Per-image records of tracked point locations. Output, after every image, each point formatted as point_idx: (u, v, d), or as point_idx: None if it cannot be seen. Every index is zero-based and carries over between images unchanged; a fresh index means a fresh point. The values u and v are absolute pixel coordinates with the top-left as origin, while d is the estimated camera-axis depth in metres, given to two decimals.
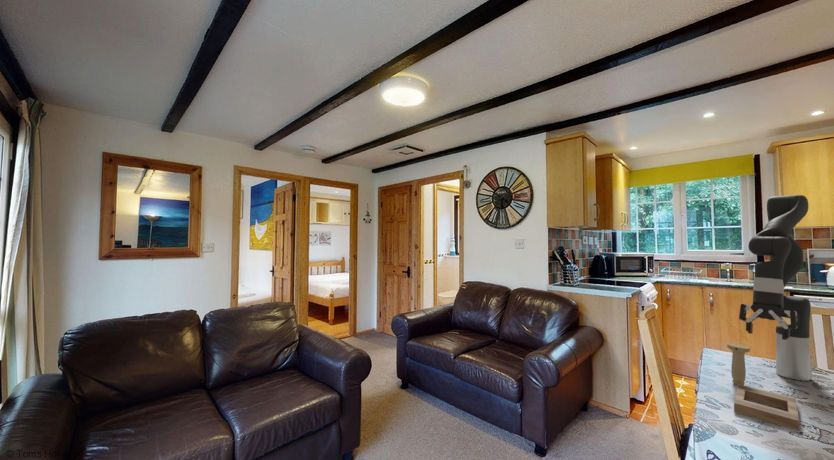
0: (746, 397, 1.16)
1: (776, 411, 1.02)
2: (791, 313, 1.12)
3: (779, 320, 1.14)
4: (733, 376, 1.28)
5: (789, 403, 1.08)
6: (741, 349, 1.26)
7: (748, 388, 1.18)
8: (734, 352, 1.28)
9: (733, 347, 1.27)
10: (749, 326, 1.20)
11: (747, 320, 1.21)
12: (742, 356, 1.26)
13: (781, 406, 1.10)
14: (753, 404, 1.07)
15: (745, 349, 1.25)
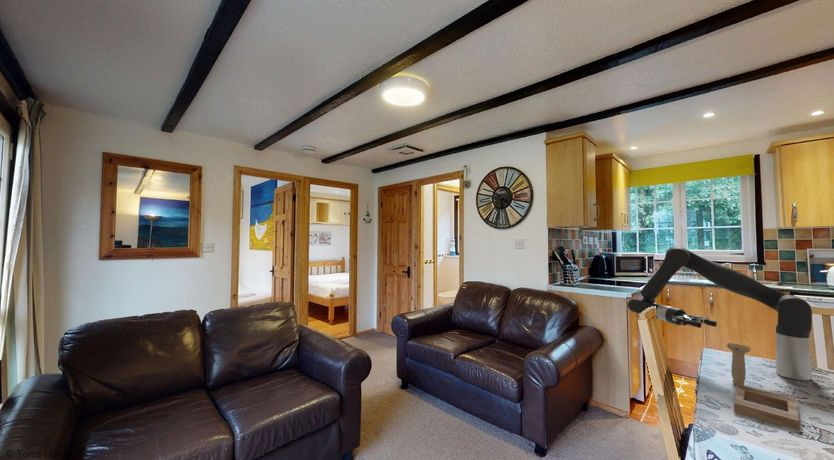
0: (746, 397, 1.16)
1: (776, 411, 1.02)
2: (675, 322, 1.46)
3: (686, 324, 1.44)
4: (733, 376, 1.28)
5: (789, 403, 1.08)
6: (741, 349, 1.26)
7: (748, 388, 1.18)
8: (734, 352, 1.28)
9: (733, 347, 1.27)
10: None
11: None
12: (742, 356, 1.26)
13: (781, 406, 1.10)
14: (753, 404, 1.07)
15: (745, 349, 1.25)
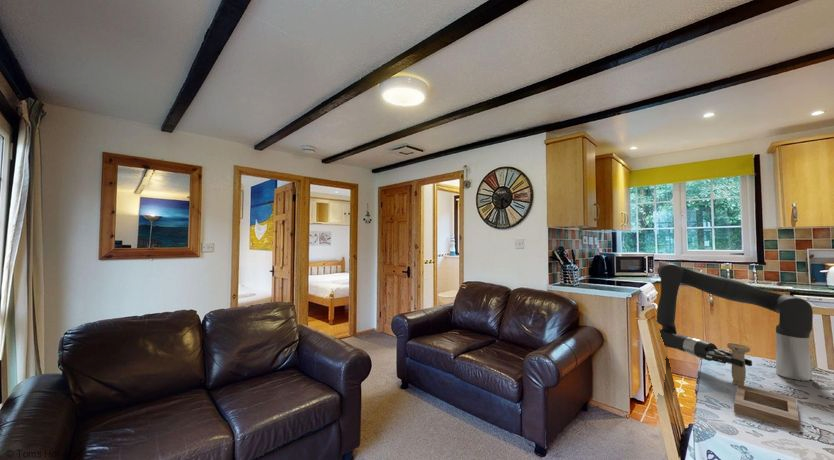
0: (746, 397, 1.16)
1: (776, 411, 1.02)
2: None
3: None
4: (733, 376, 1.28)
5: (789, 403, 1.08)
6: (741, 349, 1.26)
7: (748, 388, 1.18)
8: (734, 352, 1.28)
9: (733, 347, 1.27)
10: None
11: None
12: (742, 356, 1.26)
13: (781, 406, 1.10)
14: (753, 404, 1.07)
15: (745, 349, 1.25)
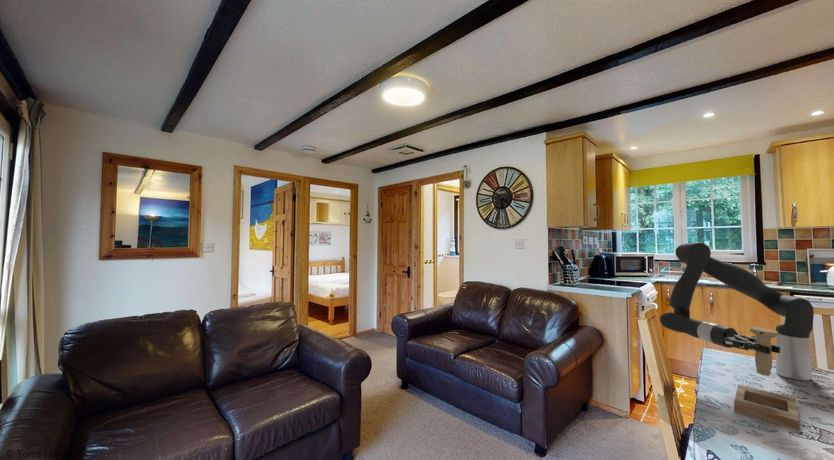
0: (746, 397, 1.16)
1: (776, 411, 1.02)
2: None
3: None
4: (757, 365, 1.10)
5: (789, 403, 1.08)
6: (767, 333, 1.08)
7: (748, 388, 1.18)
8: (759, 337, 1.10)
9: (758, 331, 1.09)
10: None
11: None
12: (769, 341, 1.08)
13: (781, 406, 1.10)
14: (753, 404, 1.07)
15: (772, 333, 1.07)
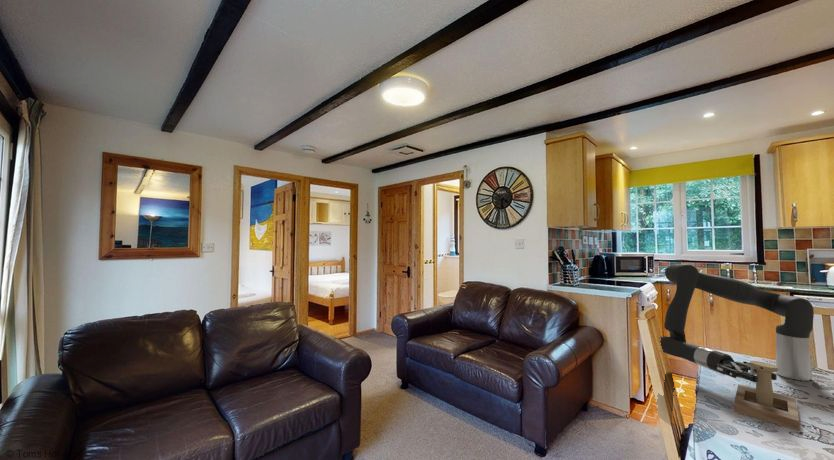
0: (746, 397, 1.16)
1: (776, 411, 1.02)
2: None
3: None
4: (758, 400, 1.10)
5: (789, 403, 1.08)
6: (767, 368, 1.07)
7: (748, 388, 1.18)
8: (759, 372, 1.10)
9: (758, 366, 1.09)
10: None
11: None
12: (769, 376, 1.08)
13: (781, 406, 1.10)
14: (753, 404, 1.07)
15: (772, 368, 1.07)
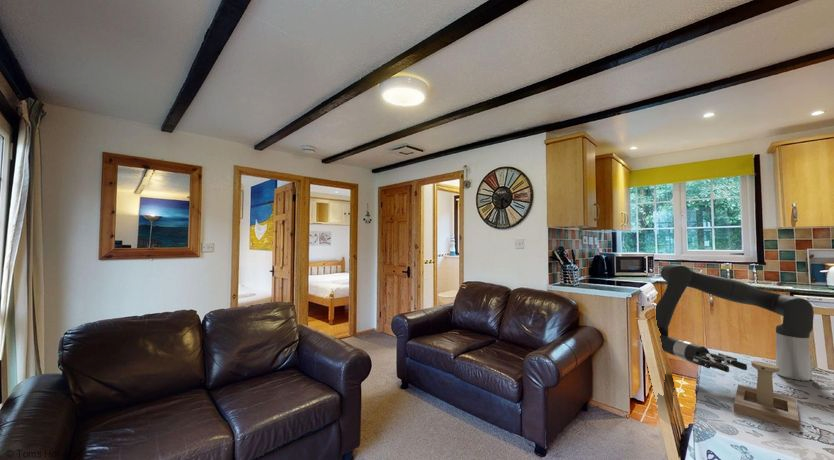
0: (746, 397, 1.16)
1: (776, 411, 1.02)
2: None
3: None
4: (758, 400, 1.10)
5: (789, 403, 1.08)
6: (769, 369, 1.07)
7: (748, 388, 1.18)
8: (760, 372, 1.10)
9: (759, 366, 1.09)
10: None
11: None
12: (770, 376, 1.08)
13: (781, 406, 1.10)
14: (753, 404, 1.07)
15: (774, 369, 1.07)
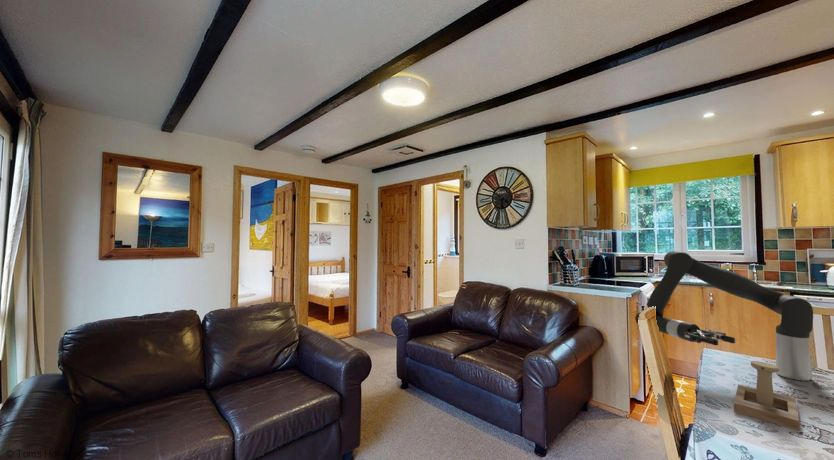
0: (746, 397, 1.16)
1: (776, 411, 1.02)
2: None
3: None
4: (758, 400, 1.10)
5: (789, 403, 1.08)
6: (768, 369, 1.07)
7: (748, 388, 1.18)
8: (760, 372, 1.10)
9: (758, 366, 1.09)
10: None
11: None
12: (769, 376, 1.08)
13: (781, 406, 1.10)
14: (753, 404, 1.07)
15: (773, 369, 1.07)
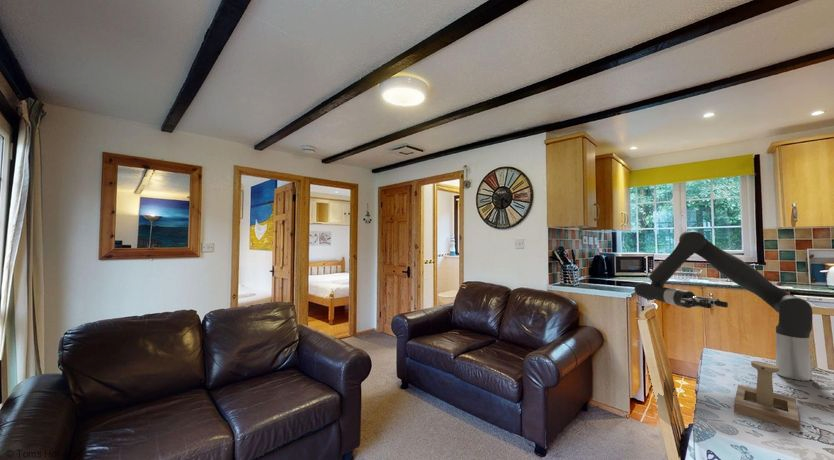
0: (746, 397, 1.16)
1: (776, 411, 1.02)
2: (683, 304, 1.40)
3: (696, 306, 1.38)
4: (758, 400, 1.10)
5: (789, 403, 1.08)
6: (769, 369, 1.07)
7: (748, 388, 1.18)
8: (760, 372, 1.10)
9: (759, 366, 1.09)
10: (720, 306, 1.35)
11: (715, 305, 1.38)
12: (770, 376, 1.08)
13: (781, 406, 1.10)
14: (753, 404, 1.07)
15: (773, 369, 1.07)
